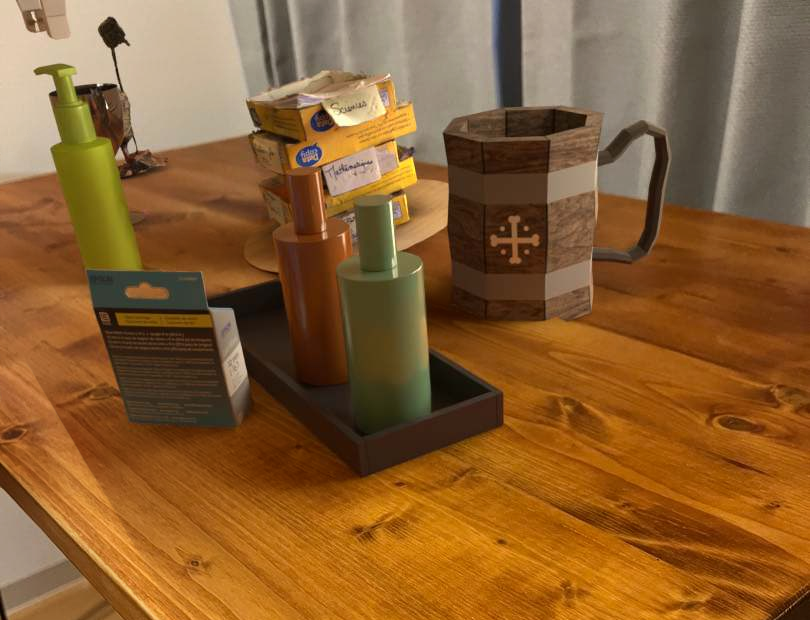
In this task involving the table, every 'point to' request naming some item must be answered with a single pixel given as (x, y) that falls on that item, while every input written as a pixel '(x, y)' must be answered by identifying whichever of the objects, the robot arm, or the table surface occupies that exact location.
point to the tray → (331, 405)
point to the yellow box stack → (341, 155)
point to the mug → (535, 209)
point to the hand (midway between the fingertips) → (48, 35)
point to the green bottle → (383, 323)
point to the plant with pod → (126, 107)
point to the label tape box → (171, 349)
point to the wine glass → (104, 117)
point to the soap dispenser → (90, 181)
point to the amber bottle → (312, 280)
